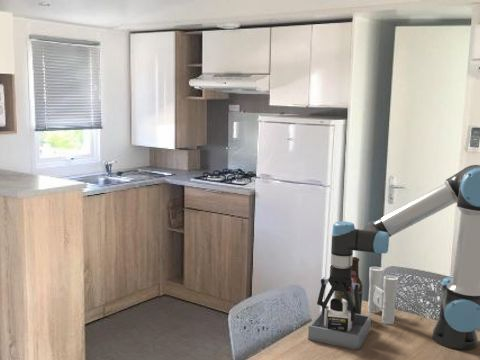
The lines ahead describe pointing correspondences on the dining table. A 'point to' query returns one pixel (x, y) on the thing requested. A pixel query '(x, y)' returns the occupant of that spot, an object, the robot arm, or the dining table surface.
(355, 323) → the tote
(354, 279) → the juice carton
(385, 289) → the binoculars
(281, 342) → the dining table surface
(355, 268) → the beer bottle
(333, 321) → the medicine bottle
